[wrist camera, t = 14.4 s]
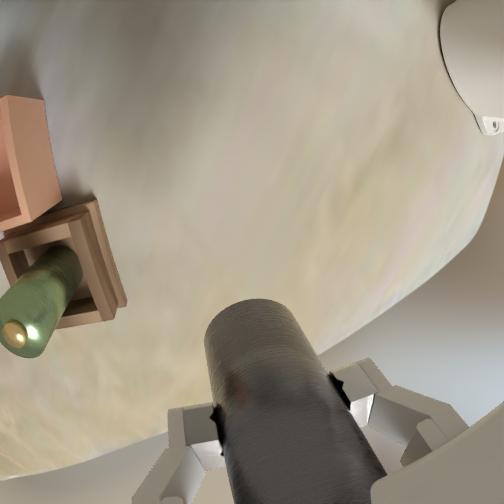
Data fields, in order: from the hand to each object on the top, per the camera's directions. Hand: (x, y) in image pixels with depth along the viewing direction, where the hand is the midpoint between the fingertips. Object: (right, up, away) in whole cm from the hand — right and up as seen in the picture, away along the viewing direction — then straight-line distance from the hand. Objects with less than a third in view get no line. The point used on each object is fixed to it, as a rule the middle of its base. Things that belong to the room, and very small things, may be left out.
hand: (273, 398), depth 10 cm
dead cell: (-1, +1, +3) cm, 3 cm away
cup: (-20, +12, +9) cm, 25 cm away
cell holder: (-16, +4, +13) cm, 21 cm away
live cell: (-16, +4, +12) cm, 20 cm away
